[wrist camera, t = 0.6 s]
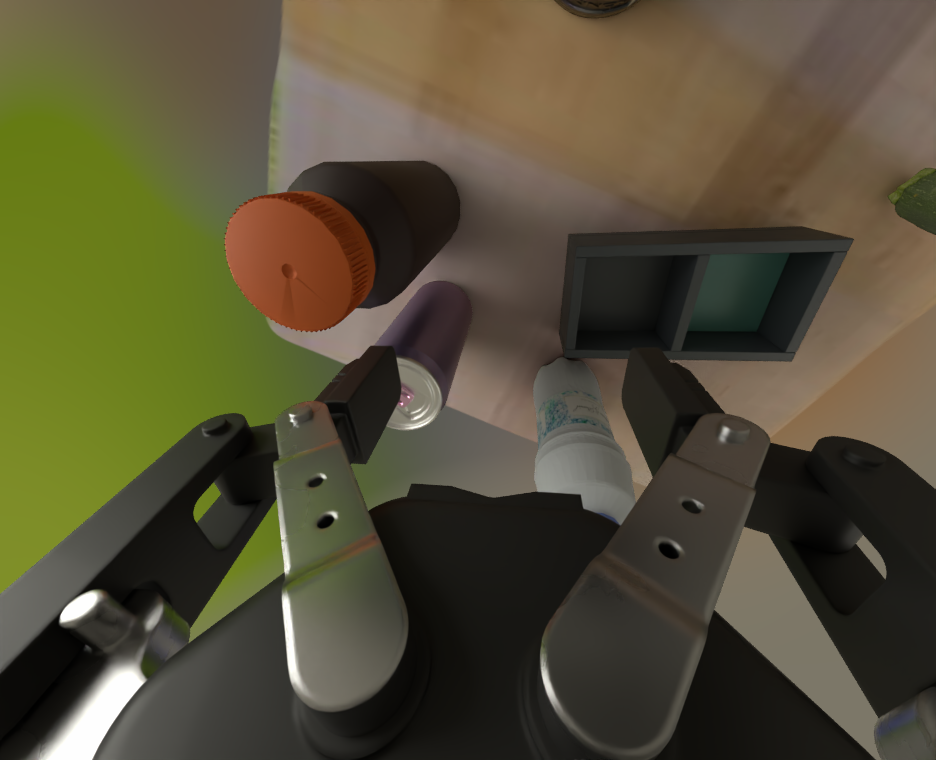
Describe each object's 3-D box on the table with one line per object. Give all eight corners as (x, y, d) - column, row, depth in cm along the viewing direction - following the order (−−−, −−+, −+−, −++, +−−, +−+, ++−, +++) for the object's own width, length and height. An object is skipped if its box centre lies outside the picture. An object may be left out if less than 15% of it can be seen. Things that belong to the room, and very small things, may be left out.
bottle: (610, 371, 35) (691, 563, 18) (567, 413, 39) (601, 606, 22) (558, 337, 34) (593, 510, 17) (517, 383, 37) (514, 564, 21)
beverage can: (436, 265, 32) (380, 334, 19) (485, 306, 33) (464, 395, 21) (402, 311, 35) (334, 397, 22) (449, 347, 36) (410, 447, 24)
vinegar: (467, 243, 30) (401, 347, 14) (395, 254, 32) (253, 360, 15) (453, 152, 27) (340, 140, 10) (373, 169, 28) (155, 182, 11)
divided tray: (568, 233, 29) (576, 246, 25) (802, 226, 26) (854, 238, 22) (558, 333, 34) (564, 358, 29) (755, 334, 31) (791, 361, 27)
